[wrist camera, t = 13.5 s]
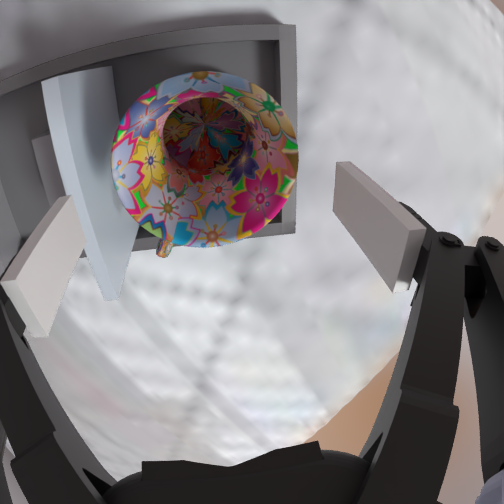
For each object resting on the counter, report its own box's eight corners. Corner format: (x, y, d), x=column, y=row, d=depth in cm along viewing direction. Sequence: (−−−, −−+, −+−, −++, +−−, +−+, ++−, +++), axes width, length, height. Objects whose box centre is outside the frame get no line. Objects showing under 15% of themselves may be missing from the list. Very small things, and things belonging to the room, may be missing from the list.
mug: (174, 48, 20) (151, 42, 11) (284, 95, 23) (332, 124, 14) (120, 183, 25) (82, 256, 17) (219, 218, 29) (228, 301, 20)
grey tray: (10, 254, 28) (-9, 283, 24) (-37, 103, 18) (-69, 116, 14) (288, 219, 30) (302, 249, 26) (287, 27, 20) (305, 21, 16)
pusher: (72, 232, 27) (34, 305, 19) (36, 88, 19) (-38, 116, 11) (140, 222, 28) (118, 299, 20) (112, 65, 20) (57, 76, 11)
